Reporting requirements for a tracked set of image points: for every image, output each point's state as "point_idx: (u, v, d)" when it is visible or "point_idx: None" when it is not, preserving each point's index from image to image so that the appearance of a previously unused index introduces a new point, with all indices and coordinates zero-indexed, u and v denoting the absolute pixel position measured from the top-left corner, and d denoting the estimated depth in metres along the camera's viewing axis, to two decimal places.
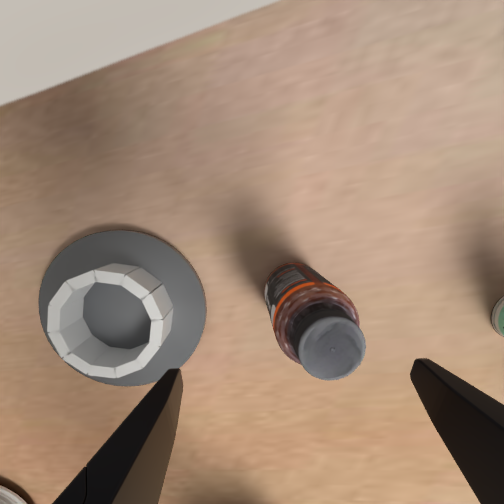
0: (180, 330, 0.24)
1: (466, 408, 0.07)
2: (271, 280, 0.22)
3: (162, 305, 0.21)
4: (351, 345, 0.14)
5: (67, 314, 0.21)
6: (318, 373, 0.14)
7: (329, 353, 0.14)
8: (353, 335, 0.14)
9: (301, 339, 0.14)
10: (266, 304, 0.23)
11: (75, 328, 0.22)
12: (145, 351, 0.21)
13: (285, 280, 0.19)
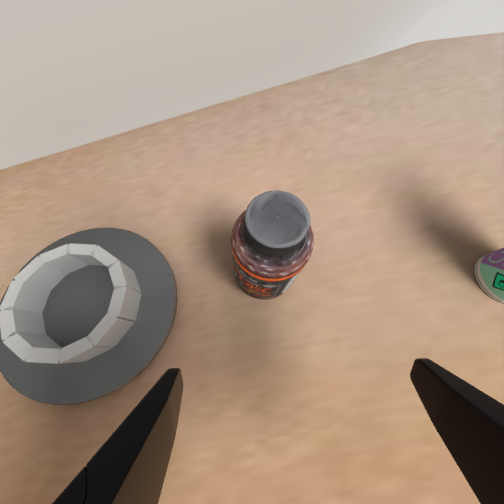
0: (146, 320, 0.22)
1: (466, 408, 0.07)
2: None
3: (128, 278, 0.21)
4: (294, 212, 0.14)
5: (27, 295, 0.20)
6: (267, 240, 0.14)
7: (275, 220, 0.14)
8: (294, 203, 0.15)
9: (246, 210, 0.14)
10: (236, 277, 0.23)
11: (30, 316, 0.20)
12: (101, 324, 0.19)
13: None
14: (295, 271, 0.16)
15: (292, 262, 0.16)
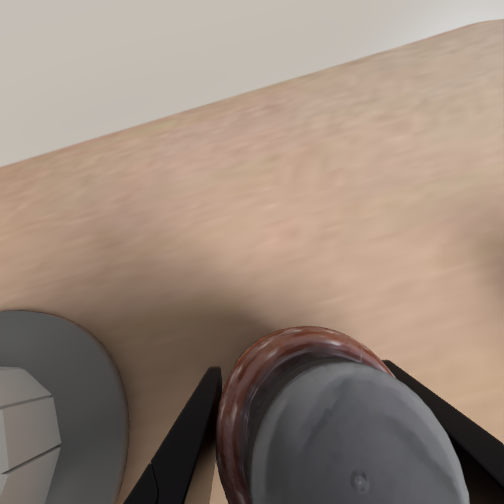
0: None
1: None
2: None
3: (25, 438, 0.11)
4: (413, 457, 0.04)
5: None
6: None
7: (355, 501, 0.04)
8: (406, 417, 0.05)
9: (256, 449, 0.04)
10: None
11: None
12: None
13: None
14: None
15: None
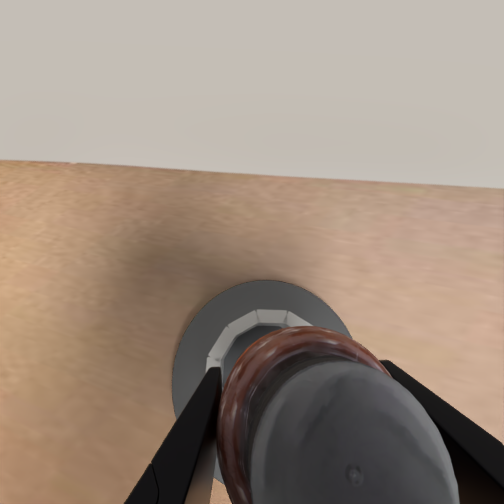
0: None
1: None
2: None
3: None
4: (405, 451, 0.05)
5: (230, 345, 0.19)
6: None
7: (349, 492, 0.04)
8: (398, 413, 0.05)
9: (256, 445, 0.05)
10: None
11: (221, 367, 0.19)
12: None
13: (248, 347, 0.11)
14: None
15: None
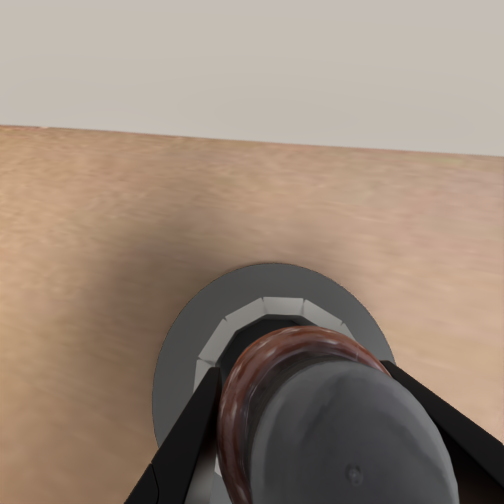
0: None
1: None
2: None
3: None
4: (405, 451, 0.05)
5: (228, 344, 0.14)
6: None
7: (349, 492, 0.04)
8: (398, 413, 0.05)
9: (256, 445, 0.05)
10: None
11: None
12: None
13: (247, 346, 0.11)
14: None
15: None
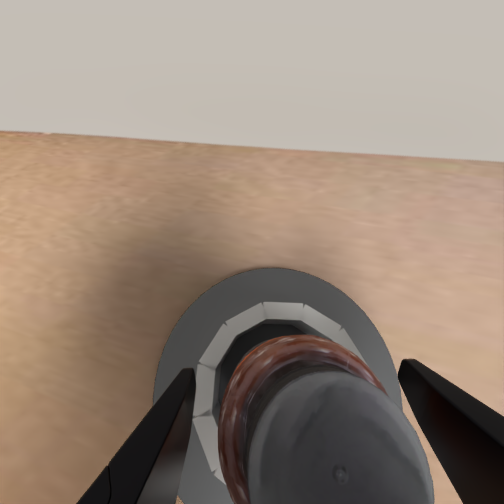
0: None
1: (449, 409, 0.07)
2: None
3: None
4: (386, 452, 0.05)
5: (228, 349, 0.14)
6: None
7: (336, 490, 0.05)
8: (381, 419, 0.05)
9: (252, 448, 0.05)
10: None
11: (217, 377, 0.14)
12: None
13: (247, 353, 0.11)
14: None
15: None
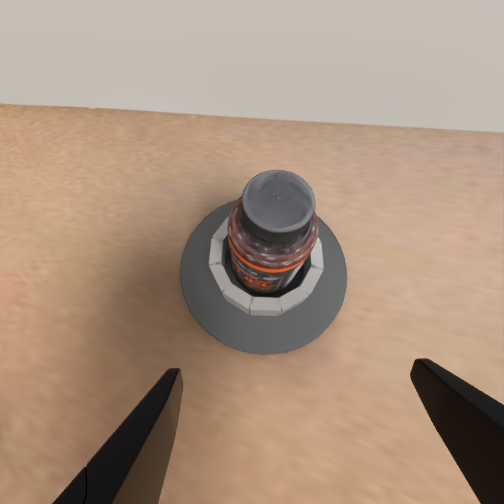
0: (312, 306, 0.22)
1: (466, 408, 0.07)
2: None
3: None
4: (297, 192, 0.13)
5: None
6: (268, 223, 0.12)
7: (276, 201, 0.13)
8: (296, 182, 0.13)
9: (244, 191, 0.13)
10: (234, 272, 0.21)
11: (224, 253, 0.22)
12: (292, 293, 0.19)
13: None
14: (299, 260, 0.14)
15: (296, 250, 0.14)
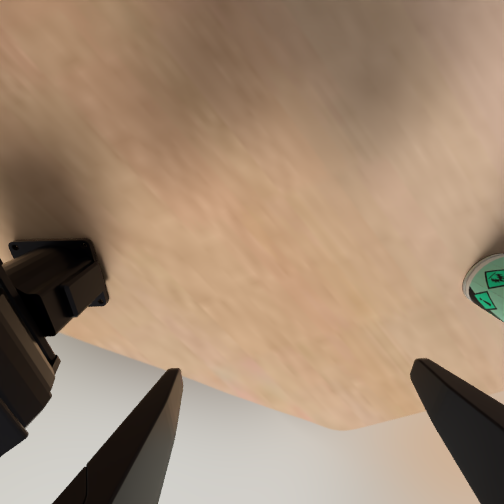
0: None
1: (466, 408, 0.07)
2: None
3: None
4: None
5: None
6: None
7: None
8: None
9: None
10: None
11: None
12: None
13: None
14: None
15: None
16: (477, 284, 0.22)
